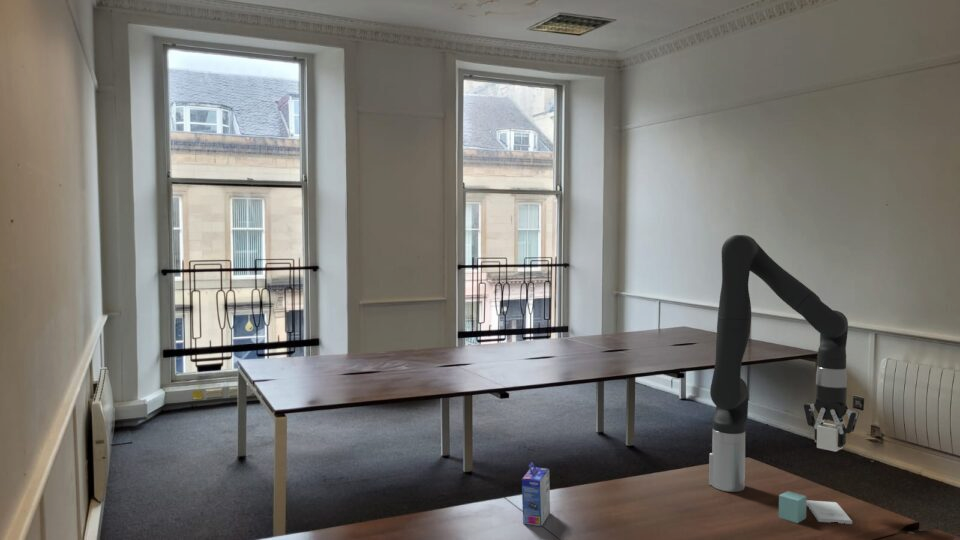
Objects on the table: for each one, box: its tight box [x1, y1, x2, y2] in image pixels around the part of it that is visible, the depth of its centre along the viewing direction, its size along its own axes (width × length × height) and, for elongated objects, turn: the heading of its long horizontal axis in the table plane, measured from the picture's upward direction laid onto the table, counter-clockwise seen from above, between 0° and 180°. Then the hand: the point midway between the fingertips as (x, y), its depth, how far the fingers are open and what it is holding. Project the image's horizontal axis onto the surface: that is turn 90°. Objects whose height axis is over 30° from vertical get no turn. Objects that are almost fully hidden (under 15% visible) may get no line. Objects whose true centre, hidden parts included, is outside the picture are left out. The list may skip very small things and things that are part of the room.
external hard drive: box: [806, 499, 853, 525], centre depth 183 cm, size 2×8×12 cm
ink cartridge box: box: [521, 461, 551, 527], centre depth 180 cm, size 10×6×14 cm, turn 161°
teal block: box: [778, 490, 807, 524], centre depth 180 cm, size 5×5×6 cm
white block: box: [816, 422, 844, 452], centre depth 187 cm, size 5×5×6 cm
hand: (829, 444), depth 187 cm, fingers closed on white block, 5 cm apart
